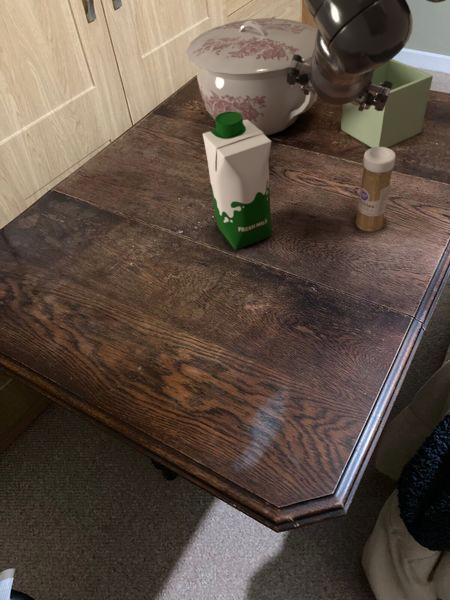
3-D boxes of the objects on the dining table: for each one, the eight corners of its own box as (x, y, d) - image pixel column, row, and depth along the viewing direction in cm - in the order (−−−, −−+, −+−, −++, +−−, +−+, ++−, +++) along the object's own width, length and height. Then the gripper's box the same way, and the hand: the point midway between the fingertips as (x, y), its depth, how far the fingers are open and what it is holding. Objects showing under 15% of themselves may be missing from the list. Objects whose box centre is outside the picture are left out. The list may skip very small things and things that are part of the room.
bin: (381, 113, 108) (389, 57, 99) (420, 133, 101) (433, 75, 92) (340, 130, 105) (345, 74, 96) (378, 152, 98) (386, 94, 89)
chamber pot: (201, 97, 121) (189, 4, 106) (314, 89, 119) (318, -8, 104) (192, 159, 102) (175, 56, 87) (326, 151, 100) (332, 43, 85)
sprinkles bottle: (349, 225, 83) (357, 154, 74) (366, 212, 85) (376, 142, 75) (372, 237, 81) (384, 165, 71) (389, 223, 83) (402, 151, 73)
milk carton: (255, 210, 89) (248, 103, 74) (279, 238, 83) (277, 127, 68) (210, 227, 87) (194, 120, 72) (233, 256, 81) (220, 146, 66)
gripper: (412, 48, 58) (389, 84, 73) (297, 15, 59) (298, 57, 75) (389, 113, 59) (371, 134, 75) (276, 79, 61) (282, 107, 76)
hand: (335, 96), depth 75 cm, fingers open, 8 cm apart
